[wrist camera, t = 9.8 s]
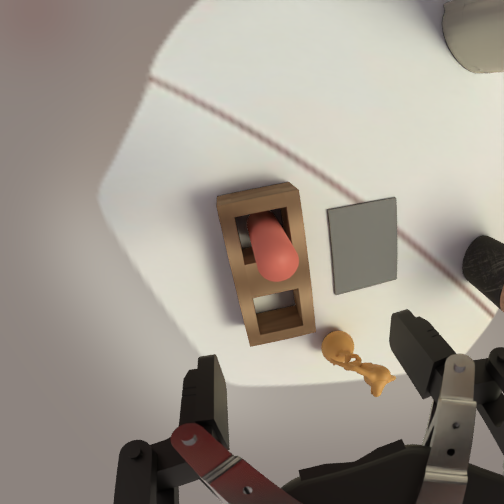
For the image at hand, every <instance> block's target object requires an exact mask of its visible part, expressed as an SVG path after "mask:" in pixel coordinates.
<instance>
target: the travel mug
mask: <svg viewBox="0 0 504 504" xmlns="http://www.w3.org/2000/svg"><path fill="white" fill-rule="evenodd" d="M463 274H464V276H465V278H466V279H467V280H468V281H469V282H470V283H471V284H472V285H473V286H475V287H476V288H477V289H478V290H479V291H480V292H482V293H483V294H484V295H485V296H486V297H487V298H488V299H489V300H491V301H492V302H493V303H494V304H495V305H496V306H497V307H498V308H499V309H501V310H502V311H503V312H504V244H503V243H501V242H499V241H497V240H495V239H493V238H491V237H489V236H480V237H478V238H477V239H476V240H474V241H473V242H472V244H471V245H470V246H469V248H468V250H467V252H466V254H465V257H464V260H463Z"/></svg>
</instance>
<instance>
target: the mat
mask: <svg viewBox="0 0 504 504" xmlns="http://www.w3.org/2000/svg"><path fill="white" fill-rule="evenodd" d="M328 219H329V228H330V238H331V249H332V260H333V273H334V287H335V295H339V294H343V293H347V292H350V291H354V290H358V289H362V288H366V287H370V286H373V285H377V284H381V283H384V282H388V281H392V280H395V279H397V205H396V198H395V197H394V198H388V199H383V200H377V201H372V202H366V203H361V204H355V205H350V206H345V207H339V208H334V209H329V210H328Z"/></svg>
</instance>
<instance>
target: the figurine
mask: <svg viewBox="0 0 504 504" xmlns="http://www.w3.org/2000/svg"><path fill="white" fill-rule="evenodd" d="M353 351H354V342H353V339H352V338H351V336H350V335H349V334H347V333H346V332H343V331H334V332H331V333H330V334H328V335H327V336H326V337H325V338H324V340H323V342H322V353H323V355H324V357H325V358H326V359H327V360H328V361H330V363H333V365H335V364H336V365H339V366H341V367H344V369H345V370H351V371H356V372H357V373H359V374H361V375H363V376H364V380H365V382H366V383H367V384H369V385H370V386H371V394H373V396H375V397H378V396H380V395H381V393H382V390H383V388H384V386H385V385H386V384H387V383H389V382H391V381H394V380H395V379H396V377H395V376H393V375H391V374H390V371H389V370H388V369H387V368H386V367H384V366H381V365H377V364H372V363H361V358H360V357H359V356H358V355H357V354H353ZM351 358H356V360H355V361H353V362H349V361H350V360H351Z"/></svg>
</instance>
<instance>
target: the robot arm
mask: <svg viewBox="0 0 504 504" xmlns="http://www.w3.org/2000/svg"><path fill="white" fill-rule="evenodd" d="M444 8H445V14H444V16H443V22H442V25H443V33H444V37H445V39H446V42H447V45H448V47H449V48H450V50H451V52H452V54H453V55H454V57H455V58H456V59H457V60H458V62H459V63H460V64H461V65H462V66H463V67H465V68H466V69H467V70H469V71H471V72H474V73H494V72H504V0H453V1H450V2H448V3H445V4H444ZM389 343H390V347H391V350H392V352H393V353H394V355H395V356H396V358H397V359H398V361H399V362H400V364H401V366H402V367H403V369H404V370H405V372H406V373H407V375H408V376H409V378H410V379H411V381H412V383H413V384H414V386H415V387H416V389H417V391H418V392H419V394H420V395H421V397H422V399H425V398H428V397H430V396H432V398H433V402H432V406H431V411H430V416H429V420H428V424H427V428H426V433H425V436H424V439H423V442H422V445H415V444H411V445H404V443H403V441H402V439H401V440H398V441H395V442H393V443H390V444H387V445H385V446H382V447H379V448H377V449H375V450H374V451H372V452H371V453H369V454H367V455H366V456H364V457H362V458H360V459H359V460H357V461H355V462H347V463H333V464H323V465H319V466H315V467H311V468H306V469H302V470H299V474H300V476H299V477H297V478H295V479H293V480H291V481H290V482H288V483H287V484H285V485H284V486H283V487H282V488H279V487H278V486H277V485H275V484H274V483H273V482H271V481H270V480H269V479H268V478H266V477H265V476H264V475H262V474H261V473H260V472H259V471H257V470H256V469H255V468H253V467H252V466H251V465H250V464H249V463H247V462H246V461H245V460H244V459H242V458H241V457H239V456H234V455H232V453H230V452H229V451H228V450H229V434H228V433H229V432H228V411H227V389H226V383H225V379H224V376H223V373H222V370H221V367H220V365H219V362H218V359H217V356H216V355H215V354H214V355H208V356H201V357H199V358H198V368H197V369H192V370H189V371H188V373H187V374H186V376H185V378H184V381H183V390H182V400H181V411H180V421H179V427H177V428H176V429H175V430H174V431H173V433H172V435H171V437H170V438H168V439H166V440H164V441H161V442H158V443H155V444H152V445H149V444H148V443H147V442H145V441H142V440H134V441H131V442H128V443H127V444H125V445H124V446H123V447H122V449H121V451H120V454H119V461H118V468H117V476H116V485H115V494H114V504H179V489H178V486H181V485H184V484H187V483H190V482H193V481H195V480H198V479H199V480H200V481H201V482H202V483H203V484H204V485H205V486H206V487H207V488H208V489H209V490H210V491H211V492H212V493H213V494H214V495H215V496H216V497H217V498H218V499H219V500H220V501H221V502H222V503H223V504H504V471H503V475H500V474H497V473H494V472H492V471H489V470H486V469H483V468H480V467H478V466H475V465H472V464H470V463H469V459H470V453H471V447H472V440H473V433H474V425H475V416H476V408H477V410H478V411H479V413H480V415H481V416H482V418H483V420H484V421H485V423H486V425H487V426H488V428H489V430H490V432H491V433H492V435H493V437H494V439H495V440H496V442H497V444H498V446H499V448H500V449H501V451H502V453H503V455H504V395H503V393H504V348H503V347H499V348H495V349H493V350H492V351H491V352H490V355H489V358H486V359H480V360H472V359H471V358H470V357H469V356H467V355H465V354H456V353H455V352H454V350H453V349H452V348H451V347H450V346H449V344H448V343H447V342H446V341H445V340H444V339H443V337H442V336H441V335H439V333H438V332H437V331H436V329H434V327H433V326H432V325H431V324H430V323H429V322H428V321H427V320H425V319H423V318H421V317H415V316H414V315H413V314H412V313H411V312H410V311H409V310H408V309H406V310H403V311H400V312H396V313H393V314H392V316H391V327H390V337H389ZM502 391H503V393H502ZM503 469H504V462H503Z"/></svg>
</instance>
